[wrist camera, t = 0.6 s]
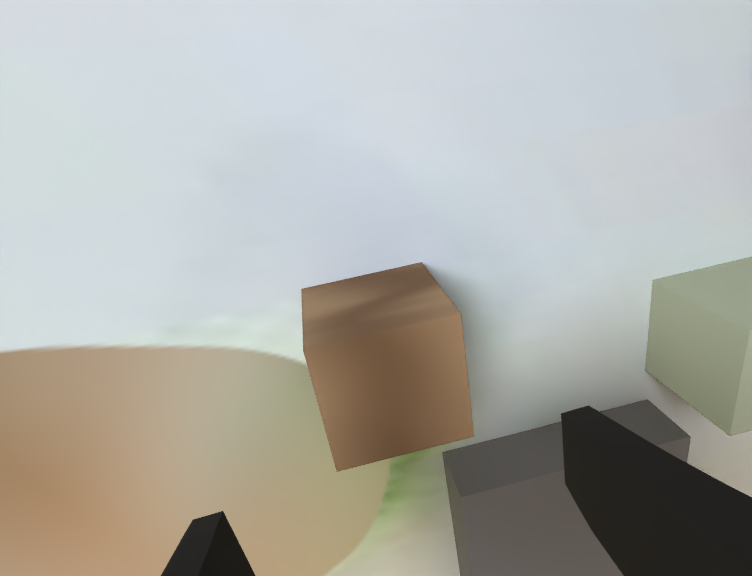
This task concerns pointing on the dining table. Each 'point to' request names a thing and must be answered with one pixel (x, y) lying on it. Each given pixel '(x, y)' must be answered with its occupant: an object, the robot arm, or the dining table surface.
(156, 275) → the dining table surface
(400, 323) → the walnut cube
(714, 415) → the sage green cube
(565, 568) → the charcoal slab
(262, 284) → the dining table surface
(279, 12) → the dining table surface
